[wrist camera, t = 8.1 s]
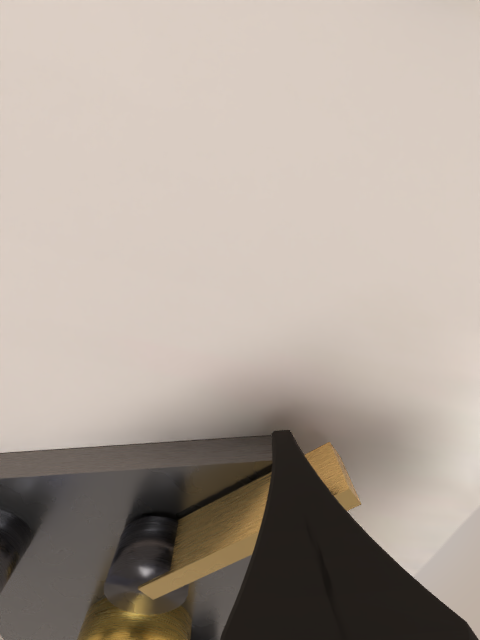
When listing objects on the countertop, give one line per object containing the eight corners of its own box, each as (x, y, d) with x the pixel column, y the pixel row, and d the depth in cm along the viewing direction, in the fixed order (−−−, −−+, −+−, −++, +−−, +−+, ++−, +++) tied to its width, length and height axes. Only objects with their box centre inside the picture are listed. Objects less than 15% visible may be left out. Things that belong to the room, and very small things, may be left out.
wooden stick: (153, 569, 15) (141, 626, 13) (105, 534, 14) (84, 590, 12) (352, 473, 13) (375, 523, 11) (315, 422, 12) (332, 466, 10)
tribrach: (51, 657, 21) (1, 780, 17) (-69, 457, 14) (-215, 577, 9) (275, 642, 21) (288, 759, 17) (271, 435, 14) (290, 542, 10)
